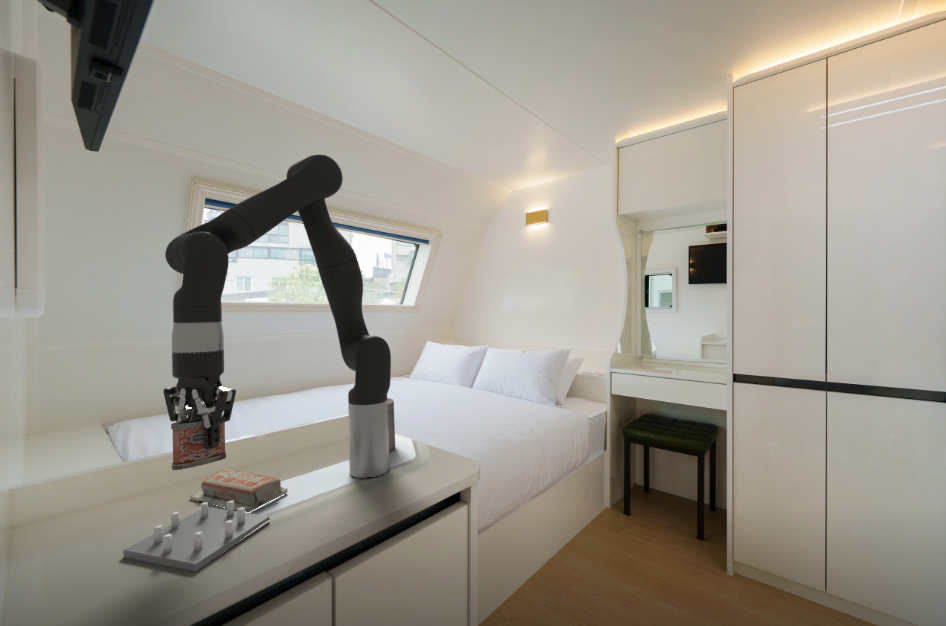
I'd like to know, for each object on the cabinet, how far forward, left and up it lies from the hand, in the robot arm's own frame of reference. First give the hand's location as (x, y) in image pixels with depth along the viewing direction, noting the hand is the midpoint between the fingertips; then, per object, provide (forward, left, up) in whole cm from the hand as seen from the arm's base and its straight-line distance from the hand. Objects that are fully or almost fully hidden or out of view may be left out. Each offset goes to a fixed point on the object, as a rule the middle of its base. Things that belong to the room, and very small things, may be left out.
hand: (200, 446), depth 72 cm
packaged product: (-15, -7, -17) cm, 24 cm away
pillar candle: (-49, +7, -16) cm, 52 cm away
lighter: (0, 0, -3) cm, 3 cm away
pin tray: (0, 0, -16) cm, 16 cm away
